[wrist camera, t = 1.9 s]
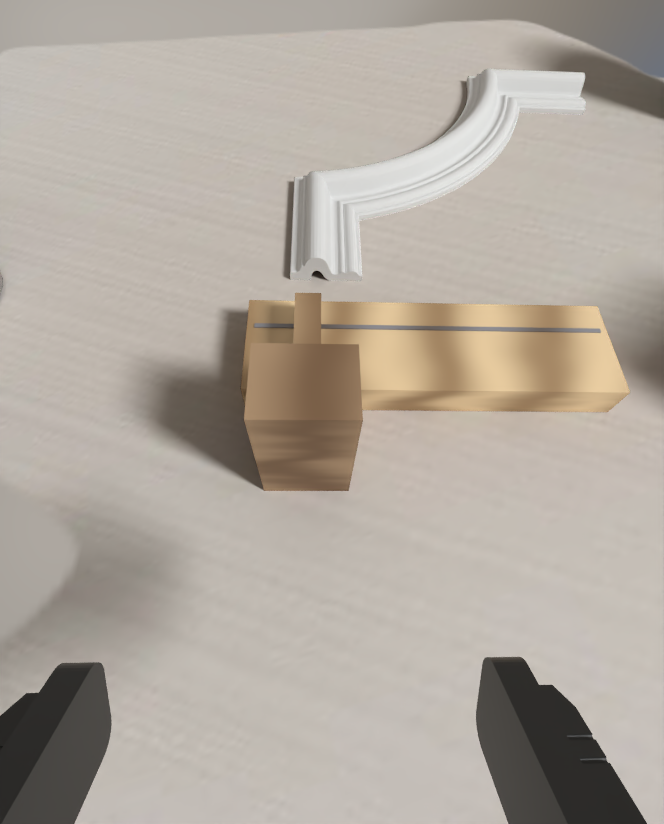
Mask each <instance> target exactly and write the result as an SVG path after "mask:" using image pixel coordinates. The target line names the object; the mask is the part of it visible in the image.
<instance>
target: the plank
mask: <svg viewBox="0 0 664 824" xmlns="http://www.w3.org/2000/svg"><path fill="white" fill-rule="evenodd" d="M294 310H295V301H266V300H249V310H248V320H247V330H246V340H245V350H244V360H243V370H242V380H241V392H242V396H243V400H244V404H245V402H246V391H247V380H248V369H249V359H250V348H251V343H293V337H294ZM321 344H359V355H360V375H361V396H362V410H427V411H545V412H608V411H609V410H611V409H612V408H613V407H614V406H615V405H616V404H618V403H619V402H620V401H621V400H622V399H623V398H625V397H626V396H627V395H628V394H629V393H630V390H629V388H628V385H627V382H626V380H625V377H624V375H623V372H622V369H621V367H620V364H619V362H618V359H617V356H616V354H615V351H614V348H613V346H612V343H611V341H610V338H609V335H608V333H607V330H606V328H605V325H604V322H603V320H602V317H601V314H600V312H599V309H598V307H597V306H551V305H494V304H437V303H380V302H323V301H321Z"/></svg>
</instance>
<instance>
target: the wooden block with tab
mask: <svg viewBox="0 0 664 824" xmlns="http://www.w3.org/2000/svg"><path fill="white" fill-rule="evenodd" d="M362 421H363V416H362V396H361V375H360V355H359V344H321V293H295V310H294V337H293V343H251V348H250V359H249V369H248V380H247V391H246V402H245V413H244V422H245V425H246V429H247V432H248V436H249V439H250V443H251V446H252V450H253V453H254V457H255V460H256V464H257V467H258V471H259V474H260V478H261V482H262V485H263V489H264V491H348V490H349V485H350V481H351V476H352V471H353V466H354V461H355V456H356V451H357V446H358V441H359V436H360V431H361V426H362Z"/></svg>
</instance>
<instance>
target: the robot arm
mask: <svg viewBox="0 0 664 824" xmlns="http://www.w3.org/2000/svg"><path fill="white" fill-rule="evenodd" d="M2 287H3V278H2V275H1V272H0V294H1V290H2ZM476 723H477V731H478V737H479V741H480V745H481V748H482V751H483V754H484V757H485V759H486V762H487V765H488V768H489V771H490V773H491V776H492V779H493V782H494V784H495V787H496V790H497V793H498V796H499V798H500V801H501V804H502V807H503V810H504V812H505V815H506V818H507V821H508V824H647V823H646V821H645V820H644V818H643V816H642V815H641V813H640V811H639V810H638V808H637V806H636V805H635V803H634V802H633V800H632V798H631V797H630V795H629V793H628V792H627V790H626V789H625V787H624V785H623V784H622V782H621V780H620V779H619V777H618V775H617V774H616V772H615V771H614V769H613V767H612V766H611V764H610V763H608V762H607V760H606V756H605V754H604V753H603V751H602V749H601V748H600V746H599V744H598V743H597V741H596V740H594V739H593V737H592V733H591V731H590V730H589V728H588V726H587V725H586V723H585V722H584V720H583V718H582V717H581V715H580V713H579V712H578V710H577V709H576V707H575V706H574V705H573V704H572V703H571V702H570V701H569V700H568V699H566V698H565V697H564V696H563V695H562V694H561V693H560V692H559V691H558V690H557V689H556V688H555V687H554V686H553V685H539V684H538V682H537V681H536V679H535V677H534V675H533V673H532V672H531V670H530V668H529V666H528V665H527V663H526V661H525V660H524V659H523V658H521V657H487V658H485V659H484V661H483V665H482V672H481V680H480V687H479V695H478V702H477V710H476ZM110 733H111V713H110V706H109V699H108V693H107V686H106V680H105V673H104V668H103V665H102V664H101V663H62V664H60V665H58V666H57V667H56V668H55V670H54V671H53V673H52V674H51V676H50V677H49V679H48V680H47V682H46V683H45V685H44V686H43V687H42V689H41V690H40V692H39V693H26V694H25V695H24V696H23V697H22V698H21V699H19V700H18V701H17V702H16V703H15V704H14V705H12V706H11V707H10V708H9V709H8V710H7V711H5V712H4V713H3V714H2V715H1V716H0V824H74V823H75V821H76V818H77V816H78V814H79V812H80V809H81V807H82V805H83V803H84V800H85V798H86V796H87V794H88V791H89V789H90V787H91V785H92V782H93V780H94V778H95V776H96V773H97V771H98V769H99V767H100V764H101V762H102V760H103V757H104V755H105V752H106V749H107V746H108V743H109V738H110Z"/></svg>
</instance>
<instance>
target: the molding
mask: <svg viewBox="0 0 664 824" xmlns="http://www.w3.org/2000/svg"><path fill="white" fill-rule="evenodd" d="M584 81H585V73H583V72H559V71H533V70H507V69H485V70H484V71H483V72H482V73H481V74H477V76H468V78H467V82H466V85H467V102H466V105H465V108H464V110H463V112H462V114H461V115H460V117H459V118H458V120H457V121H456V122H455V124H454V125H453V126H452V127H451V128H450V129H449V130H448V131H447V132H446V133H445V134H444V135H442V136H441V137H440V138H438V139H437V140H436V141H434V142H433V143H431V144H429V145H427V146H425V147H423V148H421V149H418V150H416V151H414V152H411V153H408V154H406V155H403V156H400V157H397V158H393V159H390V160H386V161H382V162H378V163H374V164H369V165H365V166H359V167H353V168H346V169H338V170H328V171H313V172H310V173H309V174H308V175H307V176H303V177H294V196H293V219H292V242H291V265H290V280H310V279H311V276H312V273H313V272H314V271H319V272H321V273H322V274H323V276H324V277H325V278H326V279H327V280H330V281H362V264H361V247H360V230H359V221H360V220H366V219H371V218H376V217H381V216H386V215H390V214H393V213H397V212H401V211H404V210H408V209H411V208H414V207H417V206H420V205H422V204H425V203H428V202H430V201H433V200H435V199H437V198H439V197H442V196H444V195H446V194H448V193H450V192H452V191H454V190H456V189H457V188H459V187H461V186H462V185H464V184H466V183H467V182H469V181H470V180H472V179H473V178H475V177H476V176H477V175H479V174H480V173H481V172H482V171H484V170H485V169H486V168H487V167H488V166H489V165H490V164H491V163H492V162H493V161H494V160H495V159H496V158H497V157H498V156H499V154H500V153H501V152H502V151H503V149H504V148H505V146H506V145H507V143H508V141H509V140H510V138H511V136H512V133H513V131H514V128H515V126H516V123H517V119H518V115H519V113H544V114H573V115H583V113H584V111H585V105H586V100H583V97H580V94H581V91H582V88H583V84H584Z"/></svg>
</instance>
